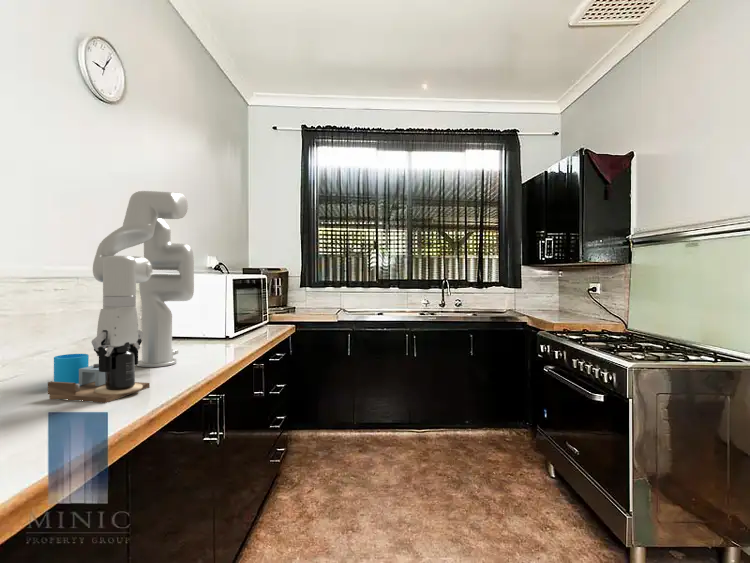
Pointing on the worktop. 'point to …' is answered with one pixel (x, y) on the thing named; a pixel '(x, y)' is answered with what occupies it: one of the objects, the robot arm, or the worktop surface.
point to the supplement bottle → (121, 369)
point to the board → (90, 391)
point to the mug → (69, 367)
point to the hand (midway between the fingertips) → (119, 368)
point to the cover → (91, 375)
